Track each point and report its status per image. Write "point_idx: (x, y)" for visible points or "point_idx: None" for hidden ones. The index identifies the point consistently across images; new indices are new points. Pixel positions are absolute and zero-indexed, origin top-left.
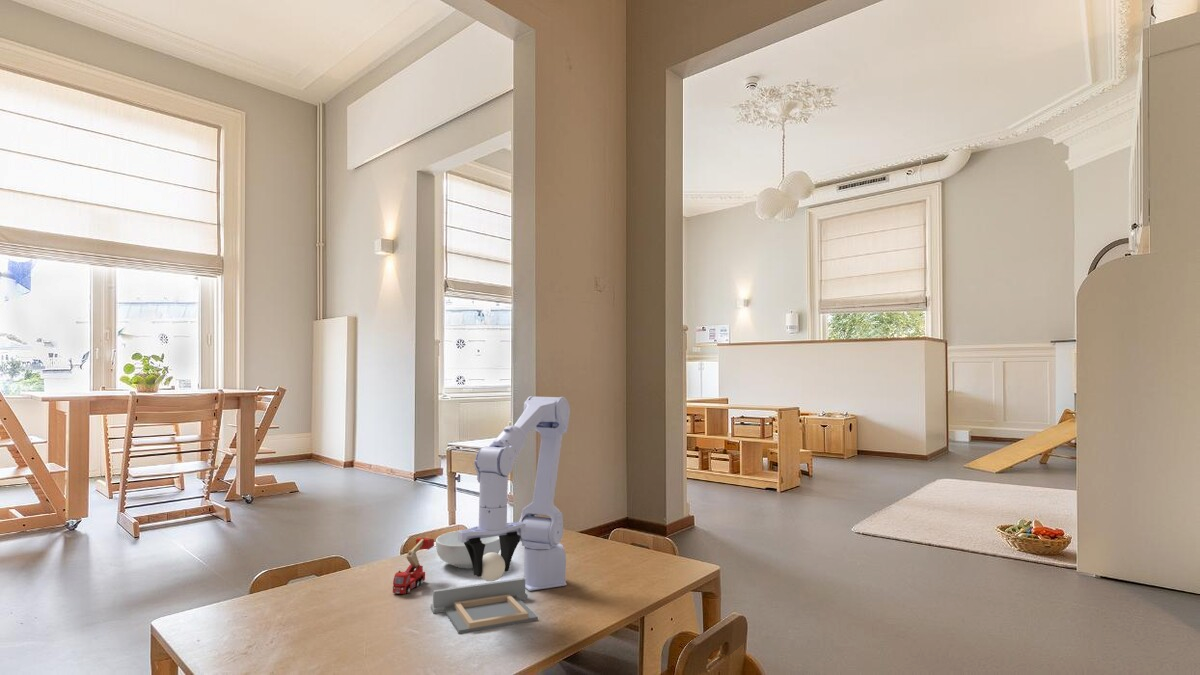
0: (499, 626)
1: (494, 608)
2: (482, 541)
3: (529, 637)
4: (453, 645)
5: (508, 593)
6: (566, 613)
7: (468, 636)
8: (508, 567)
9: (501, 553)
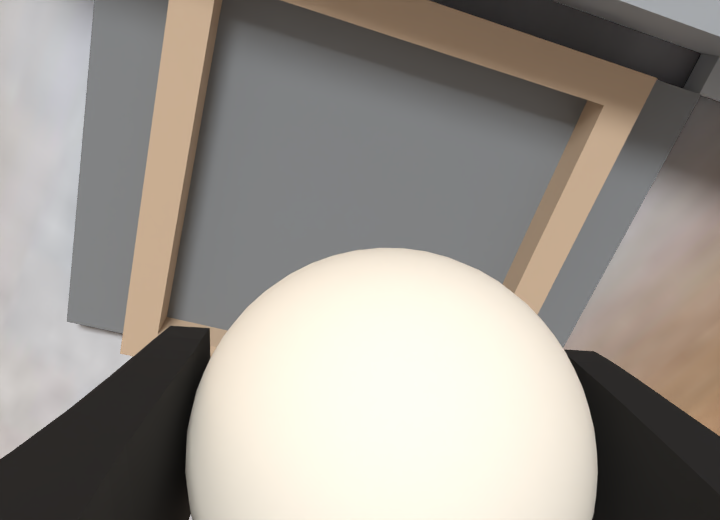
0: None
1: (429, 168)
2: None
3: None
4: (5, 404)
5: (679, 37)
6: None
7: (113, 365)
8: None
9: (684, 497)
